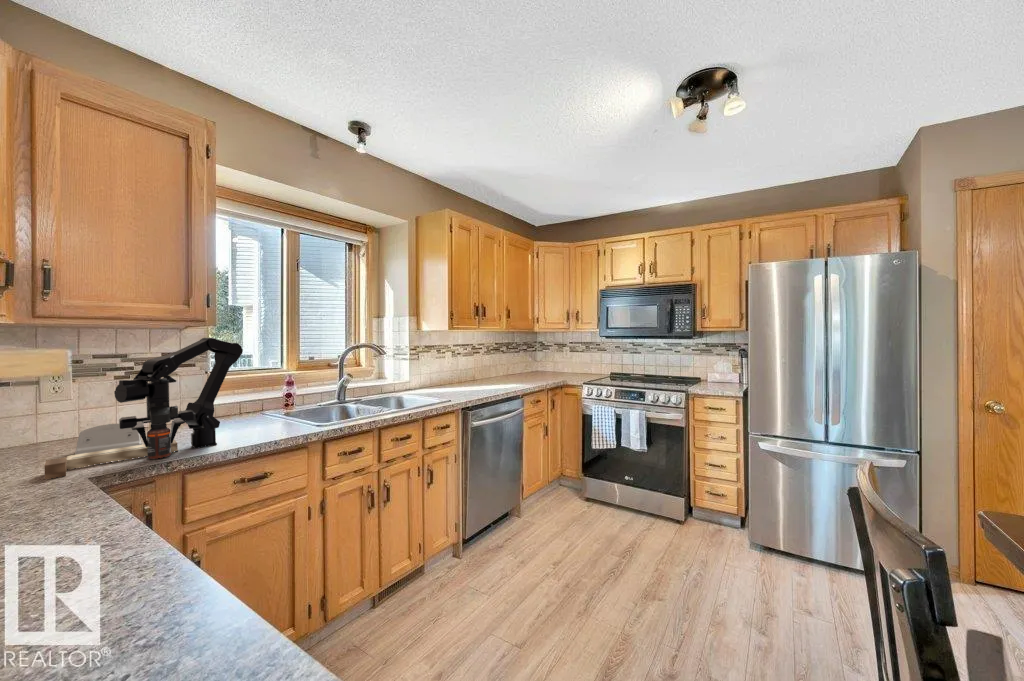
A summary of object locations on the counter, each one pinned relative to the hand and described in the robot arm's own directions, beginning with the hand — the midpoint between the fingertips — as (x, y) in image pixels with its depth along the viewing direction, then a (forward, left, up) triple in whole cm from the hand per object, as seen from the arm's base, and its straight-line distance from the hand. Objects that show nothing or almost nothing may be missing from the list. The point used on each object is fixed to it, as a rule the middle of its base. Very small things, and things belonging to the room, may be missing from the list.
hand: (159, 444), depth 137 cm
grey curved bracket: (+11, -24, -4) cm, 27 cm away
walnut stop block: (+23, +1, -4) cm, 23 cm away
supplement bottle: (0, 0, -4) cm, 4 cm away
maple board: (+8, -6, -4) cm, 11 cm away
